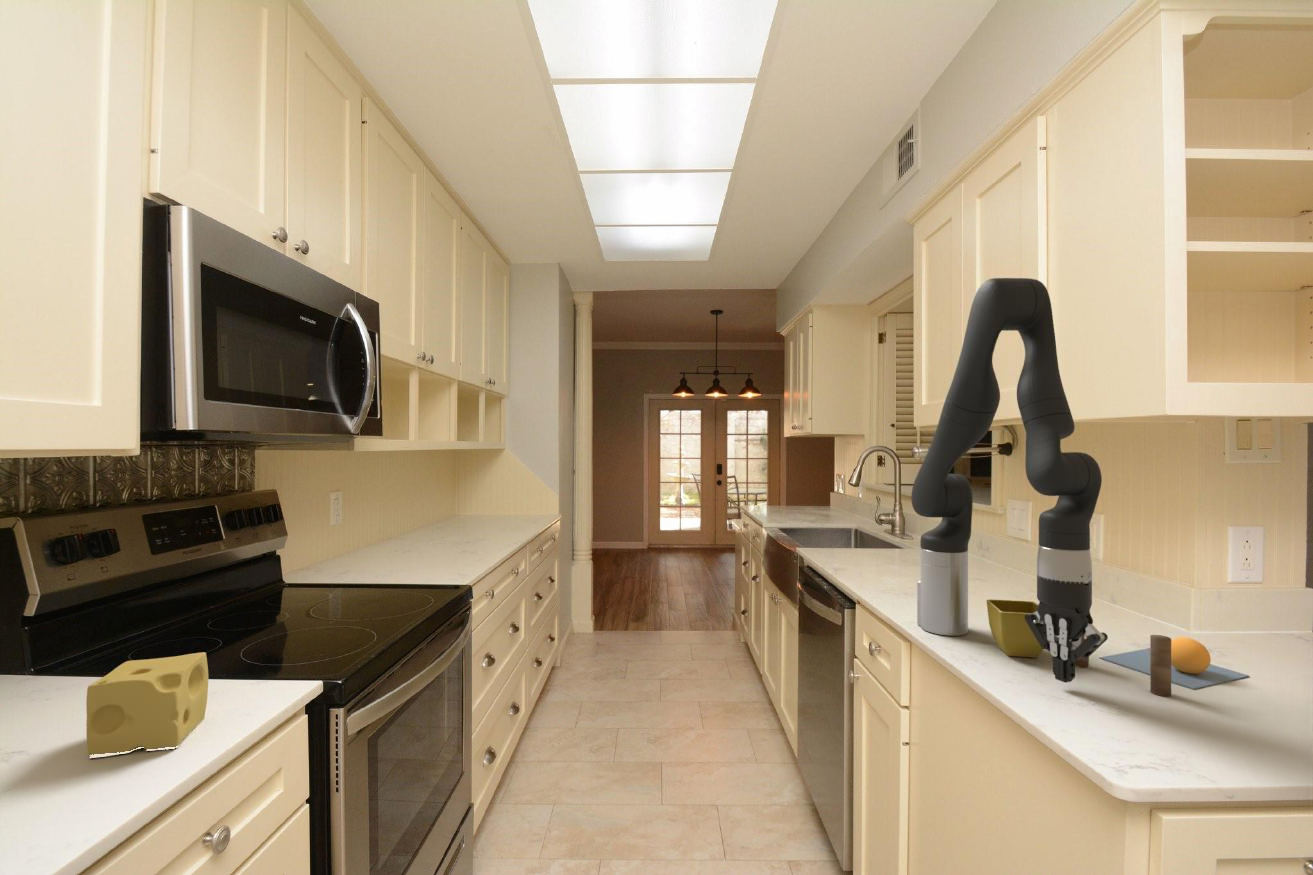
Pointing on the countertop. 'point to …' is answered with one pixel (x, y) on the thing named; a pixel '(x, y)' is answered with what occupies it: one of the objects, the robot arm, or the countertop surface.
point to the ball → (1189, 656)
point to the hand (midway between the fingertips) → (1064, 680)
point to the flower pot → (1013, 627)
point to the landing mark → (1175, 670)
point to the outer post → (1160, 665)
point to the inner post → (1083, 662)
